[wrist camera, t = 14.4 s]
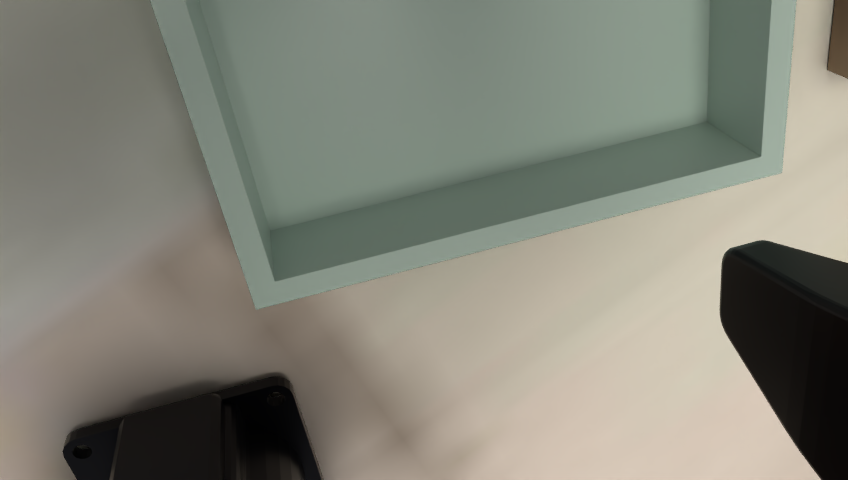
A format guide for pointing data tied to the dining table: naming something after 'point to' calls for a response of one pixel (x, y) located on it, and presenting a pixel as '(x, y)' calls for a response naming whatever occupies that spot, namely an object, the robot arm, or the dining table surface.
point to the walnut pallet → (839, 40)
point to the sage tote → (465, 120)
